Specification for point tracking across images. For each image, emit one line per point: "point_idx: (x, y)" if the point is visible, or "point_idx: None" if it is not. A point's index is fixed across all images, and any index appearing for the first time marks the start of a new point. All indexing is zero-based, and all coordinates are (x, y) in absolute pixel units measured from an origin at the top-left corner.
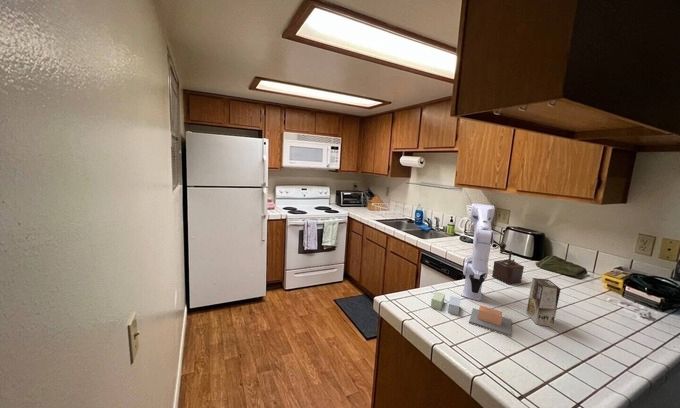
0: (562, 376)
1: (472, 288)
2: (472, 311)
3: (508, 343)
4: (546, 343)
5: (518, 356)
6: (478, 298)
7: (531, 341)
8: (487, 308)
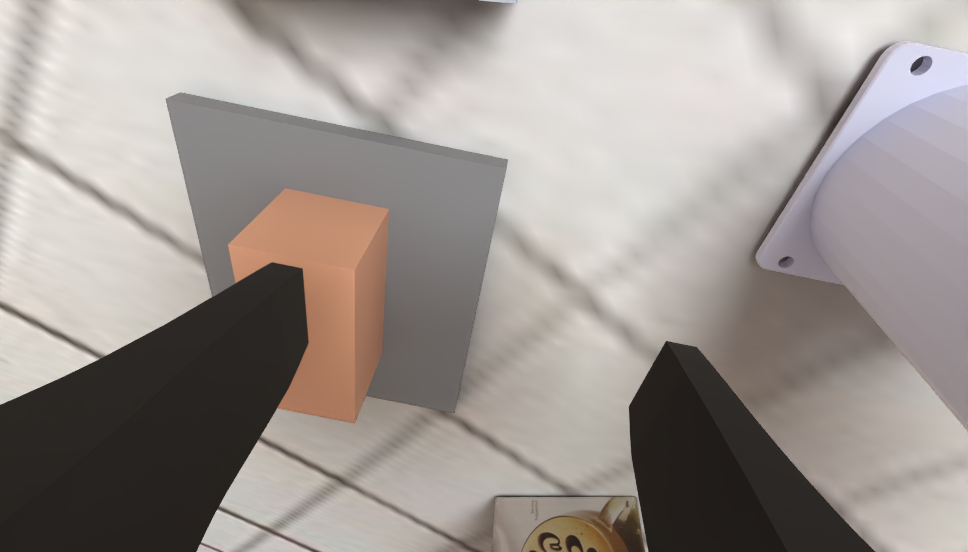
0: None
1: (205, 315)
2: (412, 155)
3: (140, 330)
4: (311, 477)
5: (51, 346)
6: (806, 257)
7: (275, 432)
8: (326, 328)
